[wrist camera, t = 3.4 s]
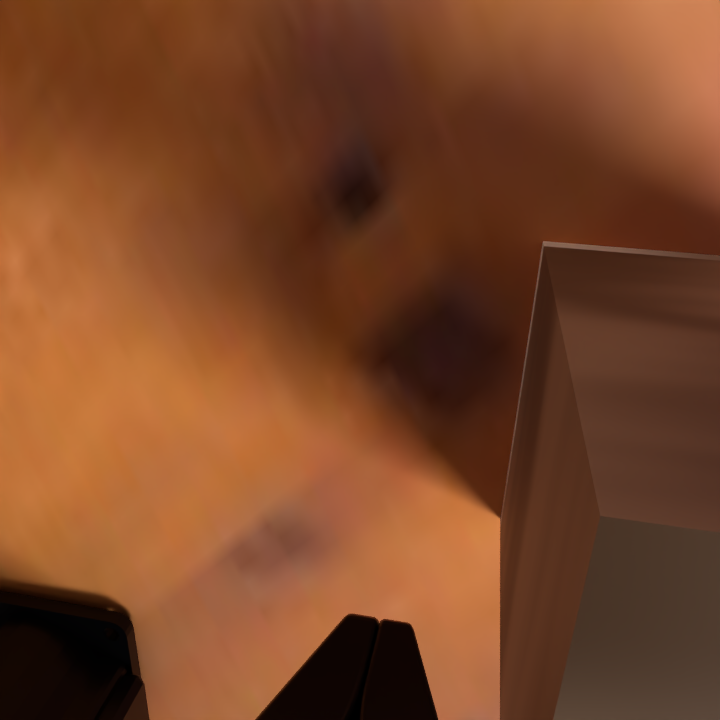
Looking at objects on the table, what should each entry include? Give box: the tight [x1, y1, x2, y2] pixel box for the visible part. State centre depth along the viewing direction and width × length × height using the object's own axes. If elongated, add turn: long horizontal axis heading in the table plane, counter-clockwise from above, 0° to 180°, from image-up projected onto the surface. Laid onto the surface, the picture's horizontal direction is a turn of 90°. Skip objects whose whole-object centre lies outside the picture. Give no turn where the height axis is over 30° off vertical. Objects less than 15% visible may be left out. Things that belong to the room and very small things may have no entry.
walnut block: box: [500, 241, 720, 720], centre depth 11 cm, size 5×7×9 cm
